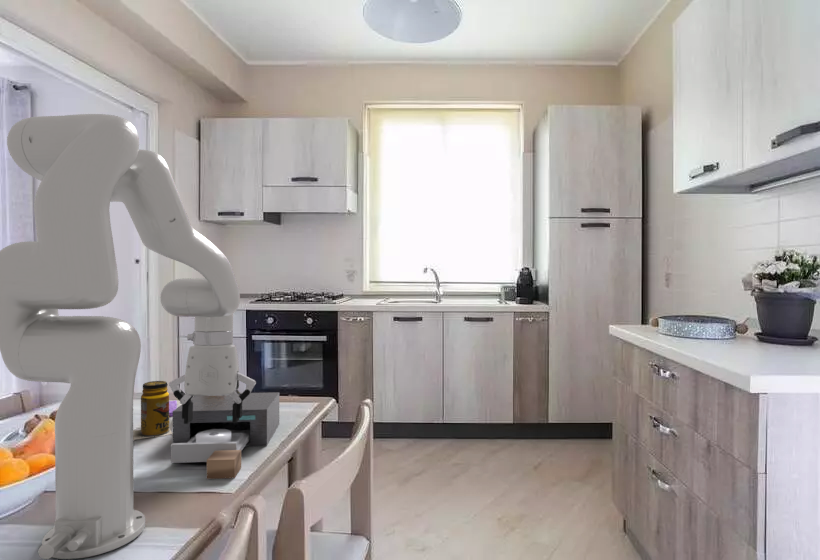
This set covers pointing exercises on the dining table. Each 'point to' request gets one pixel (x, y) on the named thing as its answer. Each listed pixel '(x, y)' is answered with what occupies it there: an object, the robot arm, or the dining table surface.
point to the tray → (207, 447)
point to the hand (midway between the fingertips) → (212, 421)
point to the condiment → (154, 411)
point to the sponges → (172, 407)
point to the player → (230, 417)
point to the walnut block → (224, 464)
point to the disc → (214, 436)
